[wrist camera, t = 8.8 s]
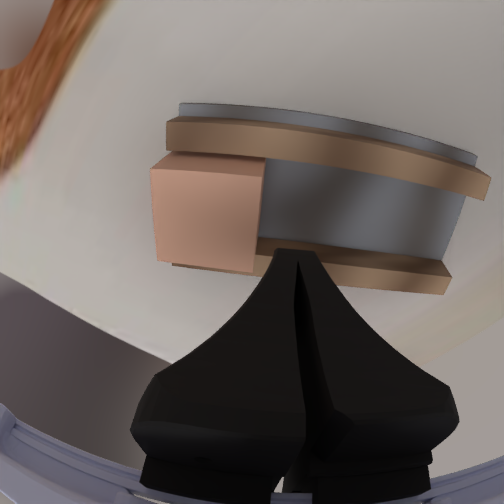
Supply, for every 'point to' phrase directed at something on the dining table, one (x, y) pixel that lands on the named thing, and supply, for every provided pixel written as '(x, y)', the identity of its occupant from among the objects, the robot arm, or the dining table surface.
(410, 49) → the dining table surface
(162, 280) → the dining table surface
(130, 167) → the dining table surface
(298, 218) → the walnut chute
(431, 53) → the dining table surface
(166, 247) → the block
